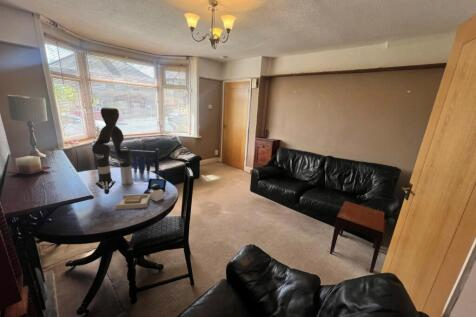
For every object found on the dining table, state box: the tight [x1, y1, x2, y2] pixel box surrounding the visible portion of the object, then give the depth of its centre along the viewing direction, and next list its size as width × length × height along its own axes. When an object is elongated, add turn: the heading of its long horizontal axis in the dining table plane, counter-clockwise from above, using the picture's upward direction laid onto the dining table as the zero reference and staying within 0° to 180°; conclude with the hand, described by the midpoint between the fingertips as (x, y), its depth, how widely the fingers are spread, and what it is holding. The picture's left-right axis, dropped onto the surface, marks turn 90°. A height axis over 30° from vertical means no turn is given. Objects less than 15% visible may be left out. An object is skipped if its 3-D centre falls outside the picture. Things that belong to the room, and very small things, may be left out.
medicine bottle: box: [150, 184, 164, 202], centre depth 162 cm, size 7×7×12 cm
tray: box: [114, 193, 151, 210], centre depth 155 cm, size 17×21×3 cm
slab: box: [124, 196, 142, 204], centre depth 155 cm, size 8×3×10 cm
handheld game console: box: [143, 178, 167, 194], centre depth 176 cm, size 16×13×9 cm
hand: (107, 193), depth 149 cm, fingers closed
